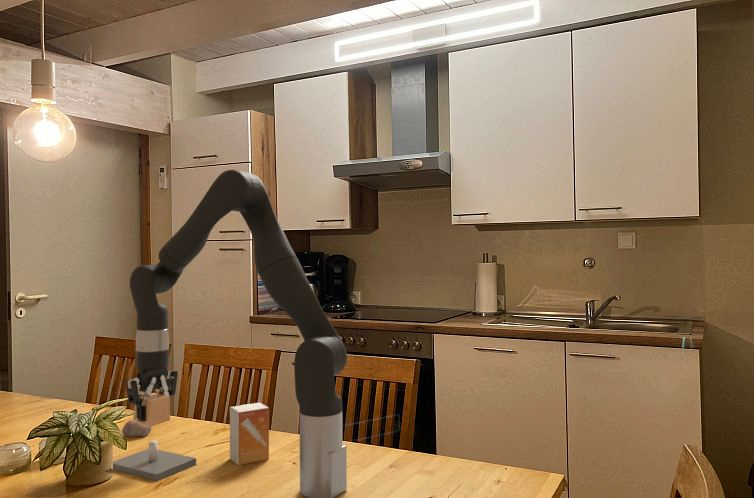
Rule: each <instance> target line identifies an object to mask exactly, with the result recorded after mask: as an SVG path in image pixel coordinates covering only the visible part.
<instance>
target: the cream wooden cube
mask: <svg viewBox="0 0 754 498" xmlns="http://www.w3.org/2000/svg"><path fill="white" fill-rule="evenodd" d="M142 398H143V396H142ZM141 400H142V399H141ZM145 406H146V421H144V422H141V421H138V419H137V414H136V405H134V408H135V423H137V424H142V425H147V426H151V427H154V426H157V425H160V424H163V423H166V422H169V421H170V420H171V396H169V395H163V394H158V393H157V392H151V395H150V396H149V397H148V399H147V403H146V405H145Z"/></svg>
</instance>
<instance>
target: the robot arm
mask: <svg viewBox="0 0 754 498" xmlns="http://www.w3.org/2000/svg"><path fill="white" fill-rule="evenodd" d="M231 212H239V214H241V217H242V218H243V220H244V221H245V223H246V225H247V227H248V229H249V231H250V233H251V236H252V241H253V242H252V243H253V254H254V255H253V256H254V257H253V258H254V265H255V269H256V270H257V273H258V276H259V278H260V280H261V282H262V283H263V286H264V288H265V290H266V292H267V293H268V295H269V296H270V297H271V299H272V300H273V301H274V303H276V305H277V306H278V307H279V308H280V309H281V310H283V312H284V313H285V314H287V315H288V317H289V318H290V319H291V320H292V322H294V323H295V325H296V327H297V328H298V330H299V332H300V334H301V336H302V339H303V342H302V343H300V344H299V346H298V347H297V349H296V351H295V355H294V361H293V366H294V367H293V369H294V387H295V389H294V390H295V391H294V392H295V398H296V401H297V403H298V407H299V409H298V410H299V493H300V495H302V496H304V497H306V498H336V497H337V496H339V495H340V494H342V493H344V492H345V491H347V489H348V487H347V486H348V485H347V482H348V481H347V478H348V477H347V473H348V471H347V469H348V467H347V465H348V464H347V463H348V462H347V446H346V445H344V444H343V399H342V397H341V396H340V395H339V394H337V393H336V388H335V387H336V385H335V384H336V383H335V382H336V381H335V376H336V375H338V374H339V373H341V372H342V371H343V370H344V369H345V368H346V365H347V362H348V352H347V348H346V346H345V344H344V342H343V340H342V339H341V337H340V335H339V334H338V333H337V330H336V329H335V328H334V326H333V325H332V322H331V321H330V319H329V318H328V316H327V315H326V314H325V312H324V310H323V308H322V306H321V304H320V302H319V300H318V297H317V295H316V293H315V292H314V290H313V288H312V286H311V284H310V282H309V280H308V278H307V276H306V273H305V271H304V269H303V266H302V264H301V263H300V261H299V258H298V257H297V255H296V253H295V252H294V250H293V248H292V245H291V243H290V242H289V240H288V238H287V235H286V234H285V232H284V230H283V227H282V226H281V224H280V222H279V220H278V218H277V216H276V213H275V211H274V208H273V205H272V203H271V199H270V198H269V194H268V192H267V189H266V187H265V184H264V183H263V181H262V179H260V177H258V176H257V175H256V174H254V173H251V172H247V171H244V170H240V169H226V170H225V171H223V172H221V173H220V174H219V175H218V176H217V177H216V179H215V180H214V181H213V182H212V183H211V186H210V187H209V188H208V190H207V191H206V193H205V194H204V195H203V197H202V199H201V200H200V202H199V203H198V205H197V206H196V207H195V209H194V211H192V214H191V215H190V216H189V218H188V219H187V220H186V221H185V223H184V224H183V225H182V226H181V227H180V228H179V230H178V231H176V232H175V234H174V235H172V237H170V239H169V240H168V241H167V242H166V243H165V244H164V245H163V246H162V248H160V250H159V252H158V259H159V260H158V261H159V262H158V263H156V264H144V265H143V264H142V265H138V266H136V267H135V268H134V269H133V271H132V272H131V273H130V278H129V289H130V290H129V291H130V293H131V297H132V300H133V304H134V308H135V311H136V335H135V368H136V370H137V374H136V376H135V377H134V378H132V379H126V380H125V389H126V394H127V400H128V405H134V406H135V405H136V414H137V419H138V421H141V422H144V421H146V406H145V405H146V403H147V399H148V397H149V396H150V395H151V394H152V393H153V392H154V391H155V392H156V393H157V394H163V395H169V396H170V397H172V396H175V395H176V390H177V383H178V376H179V372H178V371H177V370H174V369H169V368H168V367H169V365H170V336H169V335H170V334H169V318H168V317H169V316H168V315H169V311H168V307H167V306H166V305H165V304H163V303H159V300H158V298H157V294H164V293H166V292H168V291H169V290H170V289H172V288H173V287H174V286H175V285H176V284H177V282H178V281H179V280H178V279H179V278H180V277H181V275H182V273H183V271H184V270H185V268H186V267H187V266H189V264H190V263H192V261H193V260H194V259H195V258H196V257H197V256H198V255H199V254H200V253H201V251H202V250H203V249H204V247H205V245H206V243H207V241H208V239H209V236H210V234H211V231H212V230H213V229H214V228H215V226H216V225H217V223H218V222H219V221H221V219H222V218H224V217H225V216H226V215H228V214H229V213H231ZM142 396H143V398H142ZM141 399H142V400H141Z"/></svg>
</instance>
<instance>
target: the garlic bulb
mask: <svg viewBox="0 0 754 498" xmlns="http://www.w3.org/2000/svg"><path fill="white" fill-rule="evenodd" d="M132 410H133V411H135V407H133V409H132ZM151 431H152V426H147V425H142V424H137V423H135V415H134V414H133V419H131V420H130V419H129V420H127V422H126V423H125V424H124V426H123V427H122V429H121V433H122V435H123V434H124V435H125V436H124V435H123V436H124V437H129V436H130V437H135V436H136V437H139V436H140V437H143V436H145V437H146V436H148V435H149V434H150V433H151Z"/></svg>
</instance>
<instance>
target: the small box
mask: <svg viewBox="0 0 754 498" xmlns="http://www.w3.org/2000/svg"><path fill="white" fill-rule="evenodd" d="M229 459H230V460H232V461H233V463H235V464H237V465H238V466H243V465H246V464H251V463H256V462H262V461H268V460H269V459H270V407H268V406H267V405H265V404H263V403H261V402H260V401H259V402H254V403H248V404H241V405H235V406H229Z"/></svg>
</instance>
